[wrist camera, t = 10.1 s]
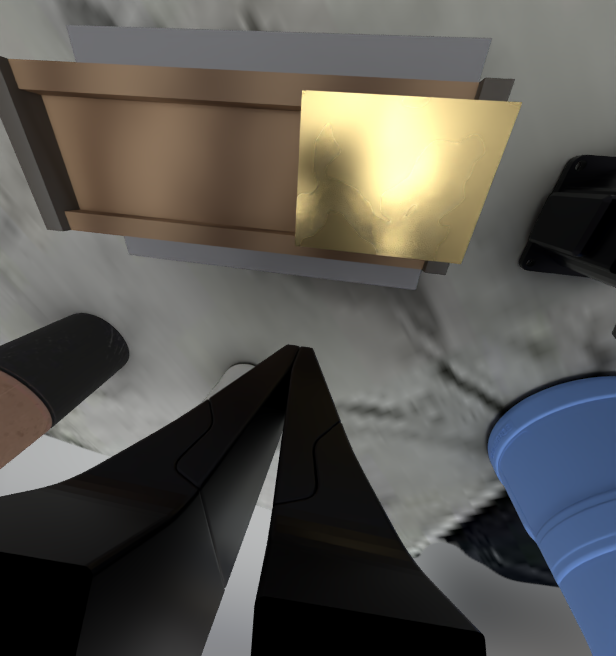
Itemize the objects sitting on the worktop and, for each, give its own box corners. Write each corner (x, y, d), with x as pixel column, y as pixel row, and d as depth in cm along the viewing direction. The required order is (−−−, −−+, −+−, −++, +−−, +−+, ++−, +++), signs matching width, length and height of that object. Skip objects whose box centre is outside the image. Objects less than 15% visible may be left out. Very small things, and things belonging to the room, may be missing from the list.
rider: (456, 132, 11) (522, 102, 7) (425, 237, 13) (461, 264, 9) (320, 123, 12) (302, 90, 7) (312, 226, 14) (294, 245, 10)
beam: (483, 98, 11) (514, 79, 9) (431, 261, 15) (445, 274, 13) (35, 73, 13) (-27, 53, 11) (85, 223, 17) (47, 229, 15)
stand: (485, 45, 13) (525, 4, 10) (413, 286, 20) (424, 305, 17) (78, 32, 15) (9, -6, 12) (136, 252, 22) (100, 264, 19)
